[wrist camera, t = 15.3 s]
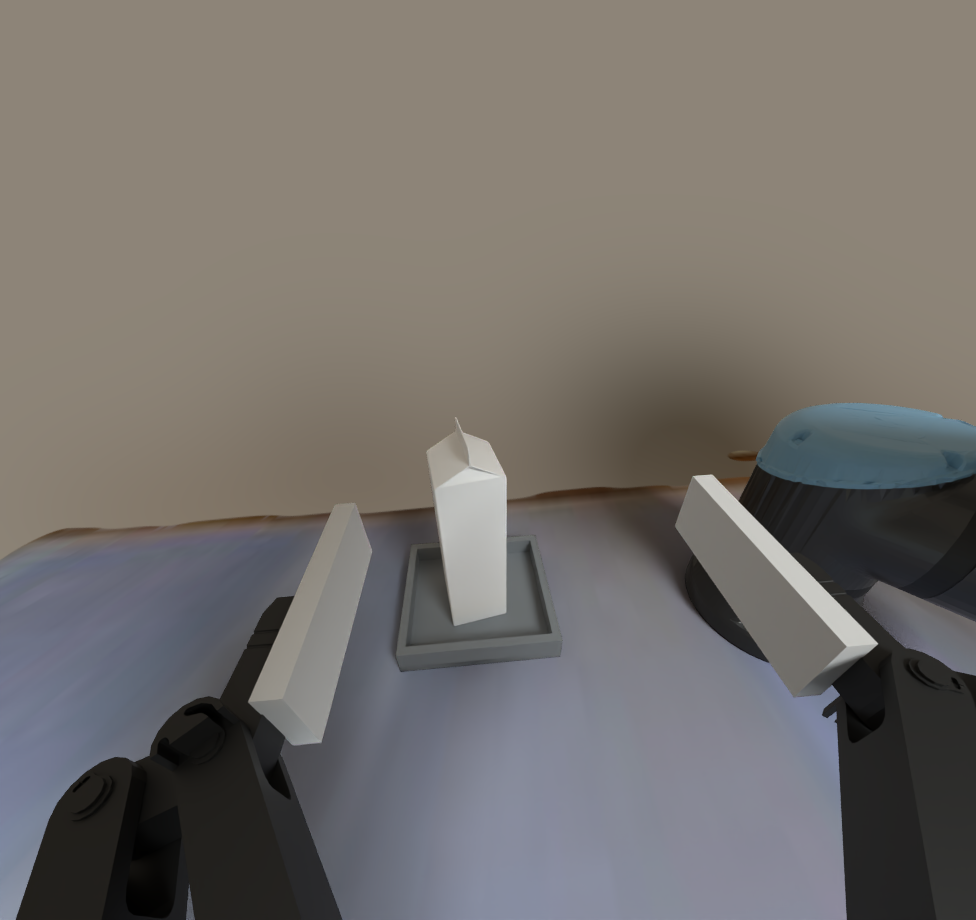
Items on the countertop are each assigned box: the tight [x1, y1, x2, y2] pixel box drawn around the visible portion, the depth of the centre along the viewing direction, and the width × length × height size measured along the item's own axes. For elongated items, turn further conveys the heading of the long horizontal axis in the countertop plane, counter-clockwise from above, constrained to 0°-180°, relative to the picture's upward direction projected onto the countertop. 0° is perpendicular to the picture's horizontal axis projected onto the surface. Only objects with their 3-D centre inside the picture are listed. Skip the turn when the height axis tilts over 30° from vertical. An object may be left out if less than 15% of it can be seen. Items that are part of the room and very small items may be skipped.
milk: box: [426, 417, 507, 626], centre depth 34 cm, size 6×6×22 cm
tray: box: [396, 535, 563, 672], centre depth 40 cm, size 16×14×3 cm
